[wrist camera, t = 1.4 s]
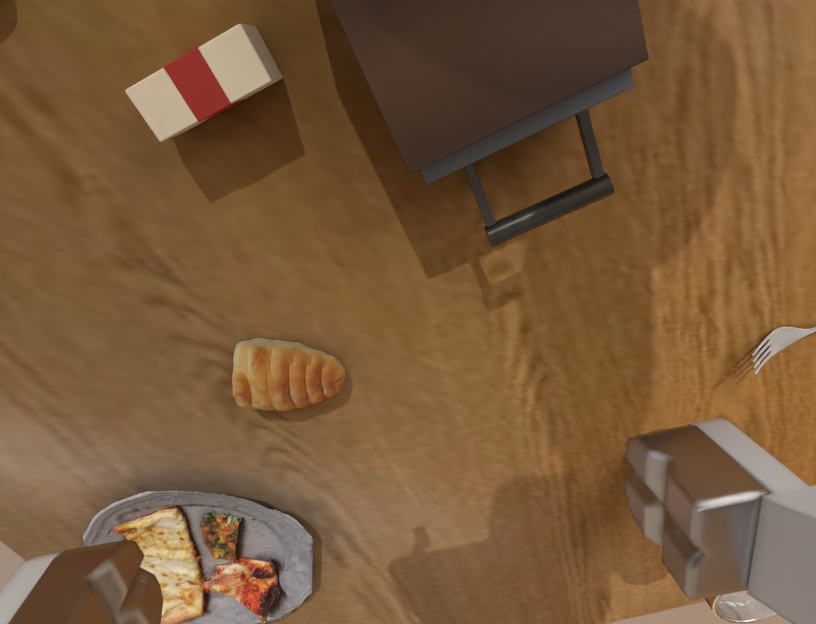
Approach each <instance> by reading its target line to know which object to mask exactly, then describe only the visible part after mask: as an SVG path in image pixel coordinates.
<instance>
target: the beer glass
mask: <svg viewBox="0 0 816 624" xmlns="http://www.w3.org/2000/svg"><path fill="white" fill-rule="evenodd" d="M659 431H662V430H659ZM655 432H657V431H655ZM630 465H631V464H630ZM631 467H632V465H631ZM632 468H633V467H632ZM705 600H706V601H707V603H708V604H709V606H710V607H711V609H712V610H713V613H714V614H715V615H716V617H718V618H719V619H721V620H723V621H725V622H729V623H736V624H745V623H753V622H758V621H762V620H765V619H769V618H771V617H774V616H776V615H778V614H777V613H775V612H774V611H772V610H771V609H769V608H768V607H766V606H765V605H763V604H762V603H760V602H759V601H757V600H756V599H754V598H753V597H751V596H750V595H748V594H747V590H746V591H741V592H735V593H730V594H724V595H719V596H713V597H708V598H705Z"/></svg>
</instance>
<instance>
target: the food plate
mask: <svg viewBox="0 0 816 624" xmlns="http://www.w3.org/2000/svg"><path fill="white" fill-rule="evenodd" d="M182 491H183V490H181V491H169V490H168V491H167V492H165V491H146V492H142V493H139V494H136V495H133V496H132V497H129V498H128V497H127V498H125V499H124V500H123V499H122V500H121V501H120V500H119V501H117V502H116V503H114V504H110V505H109V506H108V507H106V508H104V509H102V511H100V512H98V513H97V514H96V516H95V517H94V518H93V519H92V520H91V521H90V522H89V524H88V527H87V529H86V531H85V533H84V534H83V541H84V547H88V546H94V545H99V544H105V543H111V542H116V541H122V540H132V541H136V542H137V544H138V546H139V547H140V549H141V550H142V552H143V554H144V555H145V556H144V558H143V561H142V564H141V566H140V567H141V568H143V569H145V570H147V571H149V572H150V573H152V574H154V575H155V576H156V578H157V580H158V582H159V584H160V586H161V591H162V596H163V607H162V617H161V622H160V624H267V623H271V622H275V621H278V620H280V619H283V618H285V617H287V616H288V615H289V614H291V611H292V612H293V611H294V610H295V608H297V607H299V606H301V605H302V604H303V603H304V601H305V600H306V599H307V598H308V597H309V595H311V593H312V589H313V588H312V562H313V559H312V558H313V556H312V552H311V550H312V548H311V547H312V546H313V539H312V537H311V536H310V535H309V533H308V532H307V531H306V530H305V528H304V527H303V526H301V525H300V523H299V522H297V520H295V519H294V518H292V517H291V516H289V515H288V514H283V513H281V511H277V509H275V510H272V509H267V508H266V507H264V506H262V505H261V506H260V505H259V504H258V503H255V502H254V501H249V500H247V499H244V498H236V497H234V496H226V495H224V494H223V495H219V494H221V493H219V494H218V493H214V492H213V493H204V492H203V493H202V492H197V491H196V490H195V491H194V492H193V493H192V491H191V492H188V491H183V492H182ZM81 541H82V540H81ZM311 544H312V546H311ZM82 548H83V544H82Z"/></svg>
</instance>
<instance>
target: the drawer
mask: <svg viewBox="0 0 816 624" xmlns="http://www.w3.org/2000/svg"><path fill="white" fill-rule="evenodd" d="M633 86H634V84H633V79H632V75H631V70H630V68H629V69H627V70H625V71H623V72H621V73H619V74H617V75H615V76H613V77H610V78H608V79H606V80H604V81H602V82H600V83H598V84H596V85H594V86H592V87H590V88H588V89H586V90H583V91H581V92H579V93H577V94H575V95H573V96H571V97H569V98H567V99H565V100H563V101H561V102H559V103H556V104H554V105H552V106H550V107H548V108H546V109H544V110H542V111H540V112H538V113H536V114H534V115H532V116H530V117H527V118H525V119H523V120H521V121H519V122H517V123H515V124H513V125H511V126H509V127H507V128H505V129H503V130H500V131H498V132H496V133H494V134H492V135H490V136H488V137H486V138H484V139H482V140H480V141H478V142H476V143H473V144H471V145H469V146H467V147H465V148H463V149H461V150H459V151H457V152H455V153H453V154H451V155H449V156H447V157H444V158H442V159H440V160H438V161H436V162H434V163H432V164H430V165H428V166H426V167H424V168H422V169H420V172H421V174H422V176H423V179H424V181H425V183H426V184H430V183H432V182H434V181H436V180H438V179H440V178H443V177H445V176H447V175H449V174H451V173H453V172H455V171H457V170H459V169H462V168H464V171H465V173H466V176H467V178H468V181H469V183H470V186H471V188H472V191H473V193H474V196H475V198H476V201H477V203H478V206H479V208H480V211H481V213H482V216H483V218H484V221H485V223H486V225H487V226H485V227H484V230H485V233H486V235H487V238H488V240H489V242H490V244H491V246H492V247H493V246H496V245H498V244H500V243H502V242H505V241H507V240H509V239H512V238H514V237H516V236H518V235H521V234H523V233H525V232H528V231H530V230H532V229H534V228H537V227H539V226H541V225H544V224H546V223H548V222H550V221H553V220H555V219H557V218H559V217H562V216H564V215H566V214H569V213H571V212H573V211H575V210H578V209H580V208H582V207H585V206H587V205H589V204H591V203H594V202H596V201H598V200H601V199H603V198H605V197H607V196H610V195H612V194H613V193H614V187H613V184H612V181H611V179H610V177H609V176H608V175H607V174H606V173H604V171H603V167H602V163H601V159H600V155H599V152H598V148H597V144H596V140H595V136H594V132H593V128H592V124H591V120H590V116H589V113H588V108H590V107H592V106H594V105H596V104H599V103H601V102H603V101H605V100H607V99H609V98H611V97H613V96H615V95H618V94H620V93H622V92H624V91H626V90H628V89H630V88H632V87H633ZM573 115H575V116H576V120H577V124H578V127H579V131H580V135H581V139H582V142H583V146H584V150H585V153H586V157H587V161H588V165H589V168H590V172H591V176H592V177H593V178H592V179H590V180H588V181H585V182H583V183H581V184H579V185H576V186H574V187H572V188H570V189H567V190H565V191H563V192H561V193H559V194H556V195H554V196H552V197H550V198H547V199H545V200H543V201H541V202H538V203H536V204H534V205H532V206H529V207H527V208H525V209H523V210H521V211H518V212H516V213H514V214H512V215H509V216H507V217H505V218H503V219H500V220H498V221H495V219H494V216H493V214H492V211H491V208H490V206H489V203H488V201H487V198H486V195H485V193H484V190H483V188H482V185H481V183H480V180H479V177H478V175H477V172H476V170H475V167H474V165H473V163H474V162H476V161H478V160H480V159H483V158H485V157H487V156H489V155H491V154H493V153H495V152H497V151H499V150H502V149H504V148H506V147H508V146H510V145H512V144H514V143H516V142H518V141H521V140H523V139H525V138H527V137H529V136H531V135H533V134H535V133H537V132H540V131H542V130H544V129H546V128H548V127H550V126H552V125H554V124H556V123H558V122H561V121H563V120H565V119H567V118H569V117H571V116H573Z"/></svg>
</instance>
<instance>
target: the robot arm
mask: <svg viewBox="0 0 816 624" xmlns="http://www.w3.org/2000/svg"><path fill="white" fill-rule="evenodd" d="M625 457H626V459H627V460H628V461H629V463H630V464H631V465H632V467H633V468H632V470H631V471H630V472H629V474H628V475H627V476H626V478H625V493H626V498H627V501H628V505H629V508H630V512H631V514H632V516H633V518H634V520H635V522H636V524H637V525H638V527H639V528H640V530H641V531H642V533H643V534H644V536H645V537H646V538H648V539H649V540H651V541H653V542H655V543H657V544H658V545H660V546H662V562H663V564H664V565H665V567H666V568H667V569H668V571H669V572H670V574H671V575H672V577H673V578H674V579H675V581H676V582H677V584H678V585H679V587H680V588H681V590H682V591H683V592H684V594H685V595H686V597H687V598H688V600H689V601H691V600H697V599H702V598H708V597H713V596H719V595H724V594H730V593H735V592H741V591H746V590H747V594H748V595H750V596H751V597H753V598H754V599H756V600H757V601H759V602H760V603H762V604H763V605H765V606H766V607H768V608H769V609H771V610H772V611H774V612H775V613H777V614H778V615H780V616H782V617H783V618H785V619H786V620H788V621H789V622H791V623H792V624H816V485H813V486H808V485H807V484H806V483H805V482H803V481H802V480H801V479H800V478H798V477H797V476H796V475H795V474H793V473H792V472H791V471H790V470H788V469H787V468H786V467H785V466H784V465H782V464H781V463H780V462H779V461H777V460H776V459H775V458H774V457H772V456H771V455H770V454H769V453H767V452H766V451H765V450H764V449H762V448H761V447H760V446H759V445H758V444H756V443H755V442H754V441H753V440H751V439H750V438H749V437H748V436H746V435H745V434H744V433H743V432H741V431H740V430H739V429H738V428H736V427H735V426H734V425H733V424H732V423H730V422H729V421H727V420H724V419H721V418H715V419H710V420H706V421H701V422H697V423H692V424H689V425H688V426H681V427H676V428H671V429H666V430H662V431H657V432H652V433H647V434H643V435H638V436H633V437H629V438H628V441H627V443H626V450H625ZM144 556H145V555H144V554H143V552H142V550H141V549H140V547H139V546H138V544H137V542H136V541H132V540H122V541H116V542H111V543H105V544H99V545H94V546H88V547H83V548H77V549H71V550H66V551H64V552H59V553H53V554H47V555H41V556H36V557H33V558H31V559H30V560H28V561H26V562H25V563H23V564H21V566H20V567H19V568H18V570H17V571H16V572H15V574H14V575H13V576H12V578H11V579H10V580H9V581H8V583H7V584H6V585H5V587H4V588H3V589H2V591H1V592H0V624H160V622H161V617H162V607H163V596H162V591H161V586H160V584H159V582H158V580H157V578H156V576H155V575H154V574H152V573H150V572H149V571H147V570H145V569H143V568H141V567H140V566H141V564H142V561H143V558H144Z"/></svg>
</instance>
